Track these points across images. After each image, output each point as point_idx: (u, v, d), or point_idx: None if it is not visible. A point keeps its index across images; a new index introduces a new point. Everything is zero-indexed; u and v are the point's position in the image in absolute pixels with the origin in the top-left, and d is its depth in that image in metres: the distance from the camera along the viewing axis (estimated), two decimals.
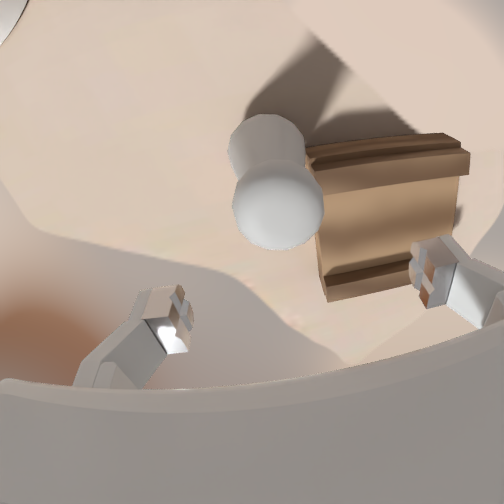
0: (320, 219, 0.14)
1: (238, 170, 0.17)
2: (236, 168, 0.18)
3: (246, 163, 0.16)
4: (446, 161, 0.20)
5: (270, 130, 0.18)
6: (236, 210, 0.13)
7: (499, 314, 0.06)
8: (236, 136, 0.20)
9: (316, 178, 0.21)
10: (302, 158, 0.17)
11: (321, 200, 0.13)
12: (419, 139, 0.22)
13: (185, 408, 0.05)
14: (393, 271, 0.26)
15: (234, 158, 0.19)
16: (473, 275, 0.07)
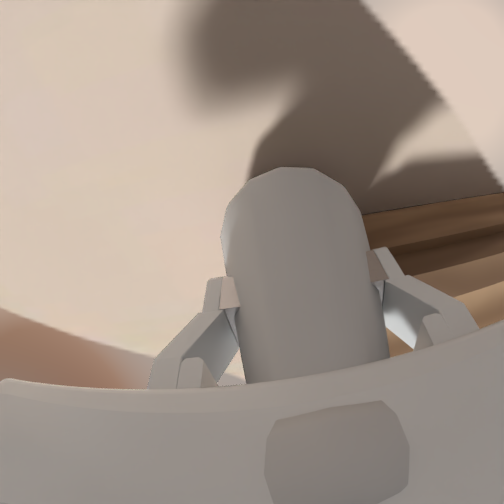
0: None
1: (240, 327, 0.08)
2: (236, 314, 0.09)
3: (259, 334, 0.07)
4: None
5: (311, 225, 0.08)
6: None
7: (425, 340, 0.06)
8: (236, 221, 0.10)
9: None
10: (378, 299, 0.08)
11: None
12: None
13: (186, 408, 0.05)
14: None
15: None
16: (403, 294, 0.07)
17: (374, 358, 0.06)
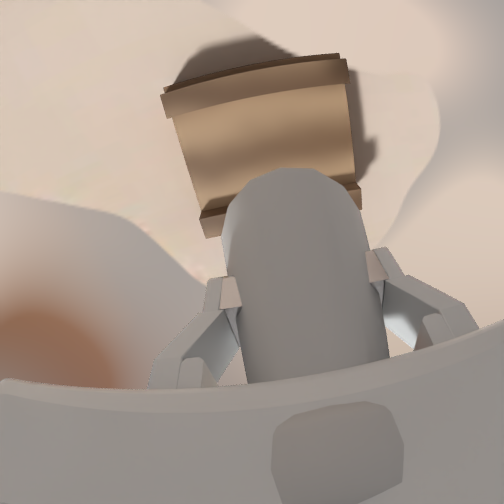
0: None
1: (241, 327, 0.08)
2: None
3: (260, 333, 0.07)
4: (312, 68, 0.19)
5: (311, 226, 0.09)
6: None
7: (425, 340, 0.06)
8: (237, 221, 0.10)
9: (162, 101, 0.20)
10: (378, 299, 0.08)
11: None
12: None
13: (186, 408, 0.05)
14: None
15: None
16: (403, 294, 0.07)
17: (374, 357, 0.06)
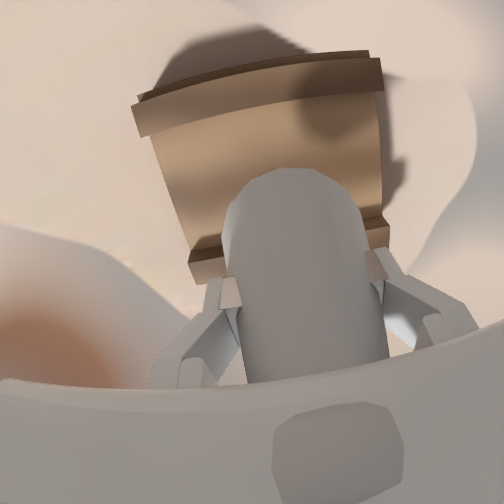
0: None
1: (241, 327, 0.08)
2: None
3: (260, 333, 0.07)
4: (335, 69, 0.13)
5: (311, 226, 0.09)
6: None
7: (425, 340, 0.06)
8: (237, 221, 0.10)
9: (134, 114, 0.15)
10: (378, 299, 0.08)
11: None
12: None
13: (186, 408, 0.05)
14: None
15: None
16: (403, 294, 0.07)
17: (374, 357, 0.06)
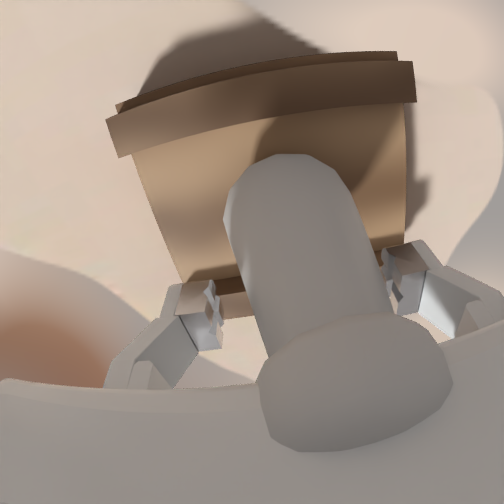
0: None
1: (249, 284, 0.09)
2: (244, 275, 0.09)
3: (269, 281, 0.08)
4: (360, 74, 0.11)
5: (308, 193, 0.09)
6: None
7: (468, 326, 0.06)
8: (240, 199, 0.11)
9: (110, 129, 0.12)
10: (373, 255, 0.09)
11: None
12: None
13: (186, 408, 0.05)
14: None
15: (238, 246, 0.10)
16: (444, 283, 0.07)
17: (376, 293, 0.07)
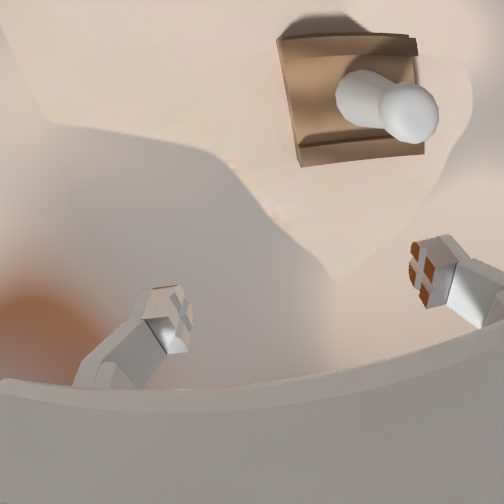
0: (437, 123, 0.16)
1: (363, 97, 0.20)
2: (359, 97, 0.21)
3: (373, 90, 0.19)
4: (393, 41, 0.21)
5: (379, 77, 0.20)
6: (389, 106, 0.16)
7: (499, 314, 0.06)
8: (348, 81, 0.22)
9: (282, 45, 0.23)
10: None
11: None
12: None
13: (185, 408, 0.05)
14: (363, 140, 0.28)
15: (352, 93, 0.22)
16: (473, 275, 0.07)
17: None
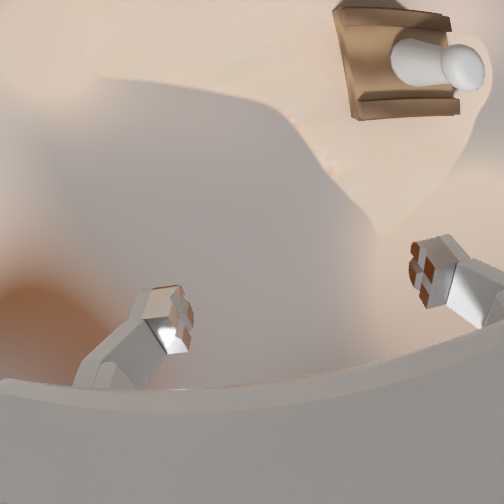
0: (484, 77, 0.16)
1: (422, 57, 0.20)
2: (418, 57, 0.21)
3: (431, 51, 0.19)
4: (432, 18, 0.21)
5: None
6: (452, 60, 0.16)
7: (499, 314, 0.06)
8: (403, 45, 0.22)
9: (345, 13, 0.23)
10: None
11: None
12: None
13: (185, 408, 0.05)
14: (412, 99, 0.28)
15: (409, 54, 0.22)
16: (473, 275, 0.07)
17: None
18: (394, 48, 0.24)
